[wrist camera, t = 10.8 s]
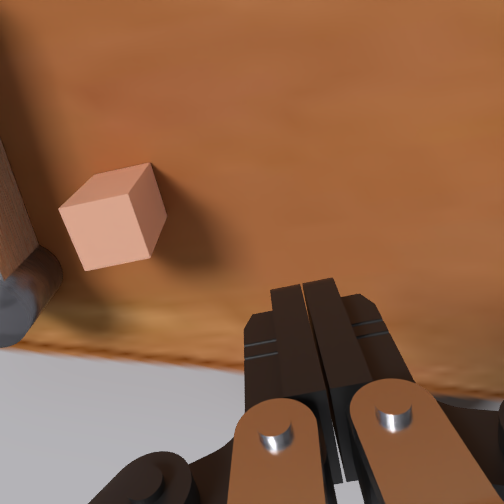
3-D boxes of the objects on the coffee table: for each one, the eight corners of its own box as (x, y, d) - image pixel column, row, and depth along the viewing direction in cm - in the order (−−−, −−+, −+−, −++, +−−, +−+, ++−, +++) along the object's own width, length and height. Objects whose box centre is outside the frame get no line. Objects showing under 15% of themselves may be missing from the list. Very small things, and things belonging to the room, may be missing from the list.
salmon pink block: (93, 174, 23) (58, 208, 18) (150, 162, 23) (128, 193, 18) (113, 227, 24) (85, 271, 20) (167, 216, 24) (150, 257, 20)
